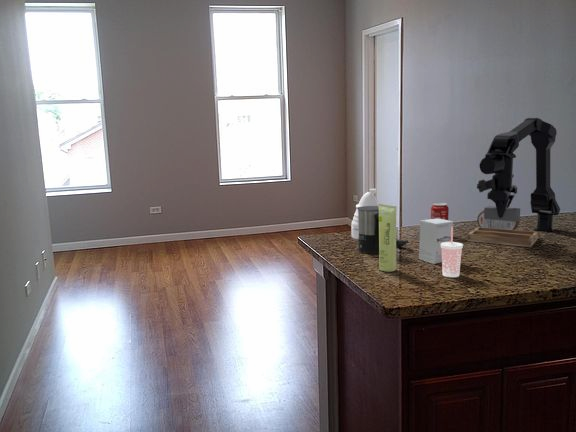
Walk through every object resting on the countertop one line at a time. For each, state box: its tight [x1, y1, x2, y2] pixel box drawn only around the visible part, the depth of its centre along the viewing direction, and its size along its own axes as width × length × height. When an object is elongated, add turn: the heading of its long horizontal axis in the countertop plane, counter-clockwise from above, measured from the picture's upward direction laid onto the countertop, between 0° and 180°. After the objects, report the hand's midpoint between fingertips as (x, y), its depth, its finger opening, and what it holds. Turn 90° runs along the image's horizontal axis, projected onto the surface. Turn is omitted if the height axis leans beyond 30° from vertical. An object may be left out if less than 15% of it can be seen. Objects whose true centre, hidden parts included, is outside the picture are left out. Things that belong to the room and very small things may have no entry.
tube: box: [378, 203, 397, 273], centre depth 171 cm, size 6×5×20 cm
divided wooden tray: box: [467, 226, 539, 248], centre depth 207 cm, size 14×21×2 cm
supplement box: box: [418, 218, 454, 265], centre depth 181 cm, size 7×7×13 cm
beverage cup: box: [441, 226, 464, 278], centre depth 165 cm, size 6×6×14 cm
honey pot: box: [350, 188, 380, 240], centre depth 217 cm, size 13×13×18 cm
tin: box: [476, 209, 520, 230], centre depth 221 cm, size 15×3×8 cm, turn 58°
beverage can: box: [430, 202, 450, 220], centre depth 216 cm, size 6×6×12 cm
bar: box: [483, 205, 521, 222], centre depth 203 cm, size 11×4×4 cm, turn 51°
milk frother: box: [356, 206, 409, 254], centre depth 196 cm, size 14×16×15 cm
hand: (501, 216), depth 203 cm, fingers closed on bar, 4 cm apart
